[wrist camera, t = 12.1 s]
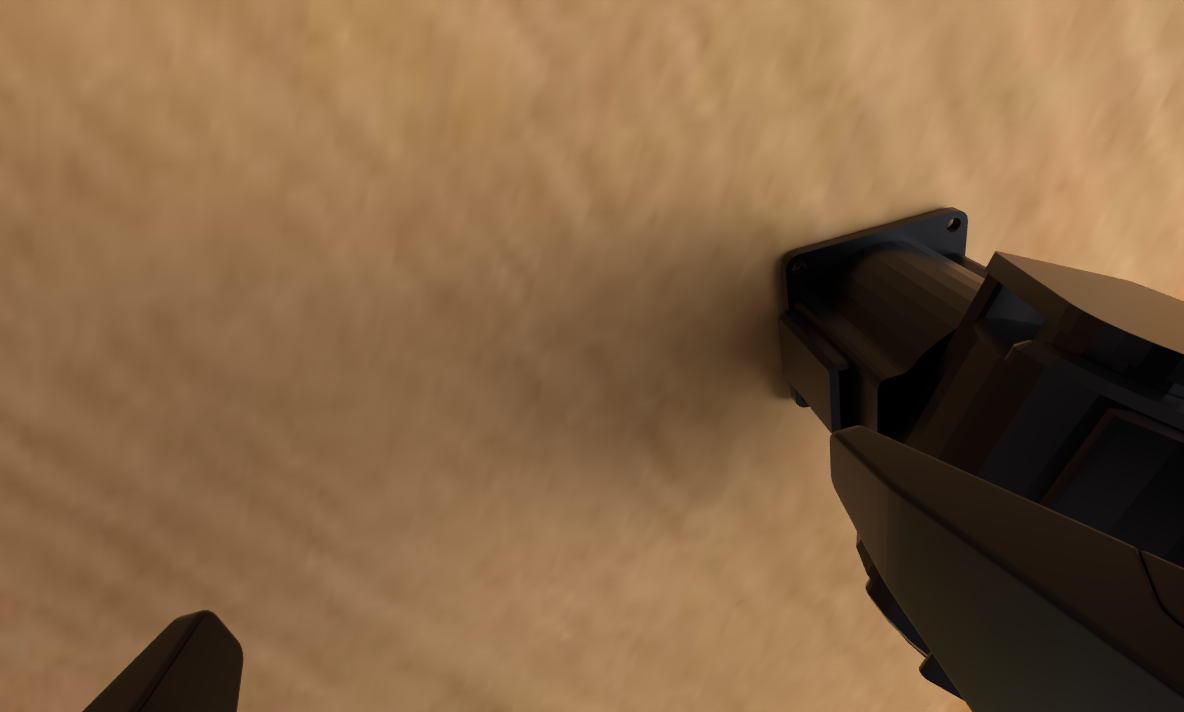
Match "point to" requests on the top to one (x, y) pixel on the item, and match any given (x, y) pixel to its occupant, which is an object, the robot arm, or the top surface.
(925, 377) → the robot arm
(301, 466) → the top surface
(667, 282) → the top surface
